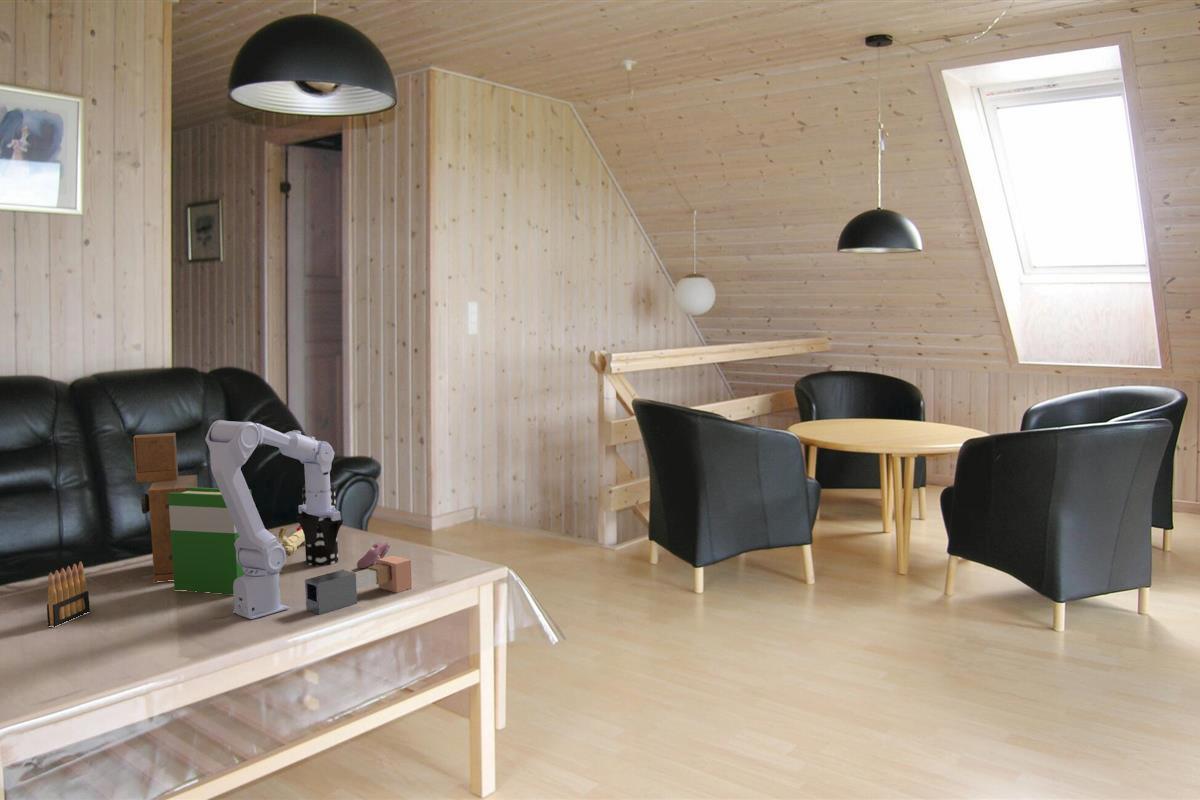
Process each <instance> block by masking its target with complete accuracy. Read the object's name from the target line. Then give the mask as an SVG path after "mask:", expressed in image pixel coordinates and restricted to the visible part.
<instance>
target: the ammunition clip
mask: <svg viewBox="0 0 1200 800" xmlns="http://www.w3.org/2000/svg"><path fill="white" fill-rule="evenodd" d="M47 584H48V585H47V587H48V588H47V601H48V603H47V604H46V614H47V615H46V616H47V627H48V626H54V627H55V626H57V625H59V624H62V623H64V622H66V621H69V620H71V619H73V618H76V617H78V616H80V615H83V614H84V613H87V612H90V613H91V607H90V604H91V603H90V596H89V591H88V590H87V580H86V576H85V570H84V566H83V562H82V561H79V563H78V566H77V564H76V563H73V564H72V569H71V567H70V565H68V566H67V567H66V570H65V569H64V567H61V569H60V573H59V571H58V570H57V569H55V571H54V575H53V573H52V571H51V572H49V573H48V578H47Z"/></svg>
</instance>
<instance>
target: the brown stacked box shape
mask: <svg viewBox="0 0 1200 800" xmlns="http://www.w3.org/2000/svg"><path fill="white" fill-rule="evenodd" d="M176 436H177V435H176V432H170V433H169V432H168V433H167V432H165V433H163V432H162V433H151V434H148V433H147V434H135V435H134V436H133V453H134V466H135V483H136V484H137V483H138V484H139V483H151V482H152V483H151V485H150V487H149V488H148V489H147V490H148V491H147V492H148V493H145V492H144V493H141V496H140V501H141V502H140V504H141V513H142V515H144V514H145V515H146V514H148V513H149V519H150V536H151V548H152V550H151V552H152V564H153V583H154V582H157V581H167V582H169V581H168V580H174V575H173V560H172V545H171V529H170V514H169V498H168V493H170V492H175V493H182V492H186V488H188V487H197V488H199V486H198V475H197V474H192V475H191V474H190V475H189V474H188V475H179V470H178V469H179V468H178V467H179V466H178V451H177V450H178V449H177V437H176ZM157 583H158V582H157Z"/></svg>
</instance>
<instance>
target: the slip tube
mask: <svg viewBox="0 0 1200 800" xmlns="http://www.w3.org/2000/svg"><path fill="white" fill-rule="evenodd" d="M353 573H356V590H358V589H361V588H365V587H368V586H372V585H379V584H382V583H385V582H389V581H390V578H391V577H392V573H391V566H389V565H384V564H378V563H377V564H376V565H374V566H371V565H369V566H367V568H364V569H360V570H359V571H354V572H353Z"/></svg>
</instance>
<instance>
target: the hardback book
mask: <svg viewBox="0 0 1200 800" xmlns="http://www.w3.org/2000/svg"><path fill="white" fill-rule="evenodd" d="M249 491H250V494H251V496H252V495H253V494H252V489H249ZM252 497H253V496H252ZM168 498H169V514H170V529H171V545H172V560H173V575H174V581H173V586H174V587H173V588H174V590H187V591H194V592H193V593H196V592H195V591H197V592H210V593H222V594H221V595H224V594H233V584H234V581H235V579H236V578H239V577H241V576H243V575H244V574H245V572H243V568H242V567H241V566H240V565H239V564H238V562H237V559H236V548H235V546H234V543H235V542H236V540H237V539H238V538H239V534H238V532H237V530H236V527H235V525H234V523H233V520H232V518H231V516H230V513H229V511H228V509H227V506H226V504H225V502H224V499H223V497H222V494H221V492H220V490H219V487H218V488H216V487H213V488H212V487H198V488H197V487H188V488H186V492H182V493H175V492H170V493H168ZM210 593H209V594H210Z"/></svg>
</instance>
